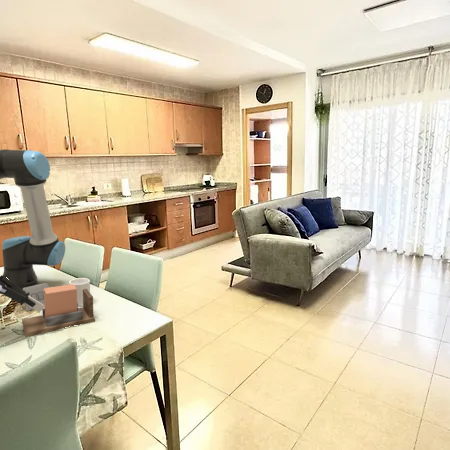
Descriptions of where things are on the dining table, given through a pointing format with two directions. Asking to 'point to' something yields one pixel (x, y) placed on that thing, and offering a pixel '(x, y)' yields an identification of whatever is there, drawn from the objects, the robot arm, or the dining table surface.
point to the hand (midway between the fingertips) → (41, 308)
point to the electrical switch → (36, 293)
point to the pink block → (60, 300)
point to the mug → (80, 288)
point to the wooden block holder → (60, 318)
